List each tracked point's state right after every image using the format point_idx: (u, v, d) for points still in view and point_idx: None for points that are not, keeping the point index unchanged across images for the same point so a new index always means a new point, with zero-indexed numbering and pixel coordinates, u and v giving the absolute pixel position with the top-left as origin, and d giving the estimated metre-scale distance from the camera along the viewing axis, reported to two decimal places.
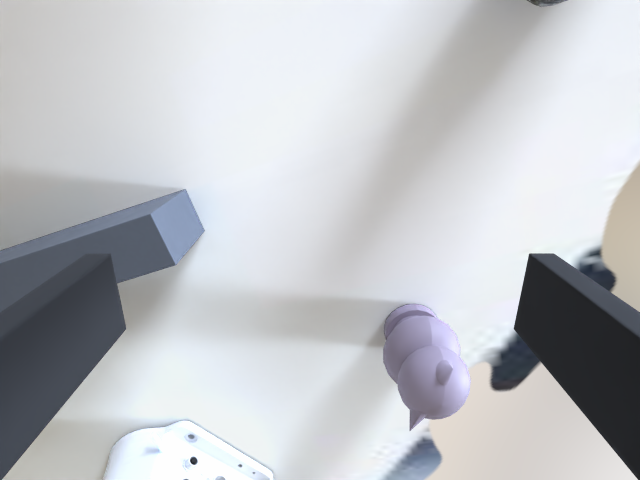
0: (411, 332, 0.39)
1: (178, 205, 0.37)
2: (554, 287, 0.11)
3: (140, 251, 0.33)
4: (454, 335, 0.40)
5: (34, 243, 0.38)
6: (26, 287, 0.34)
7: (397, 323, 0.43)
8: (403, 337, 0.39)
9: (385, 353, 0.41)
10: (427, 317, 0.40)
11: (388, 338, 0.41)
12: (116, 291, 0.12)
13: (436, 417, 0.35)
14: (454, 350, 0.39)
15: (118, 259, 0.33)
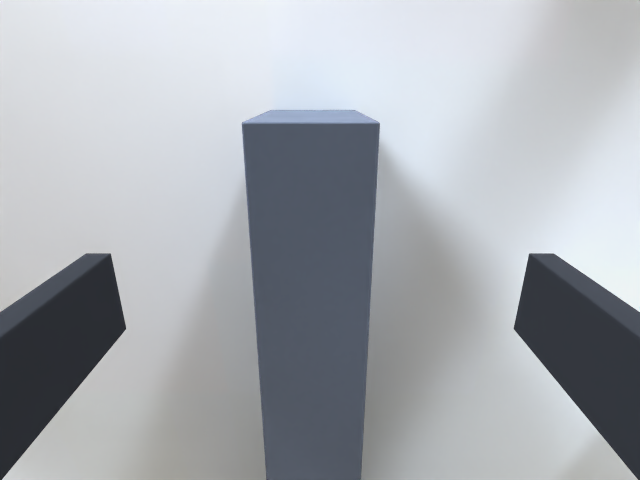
0: None
1: (281, 113, 0.19)
2: (554, 287, 0.11)
3: (321, 187, 0.14)
4: None
5: None
6: (318, 417, 0.18)
7: None
8: None
9: None
10: None
11: None
12: (117, 292, 0.12)
13: None
14: None
15: (321, 241, 0.15)
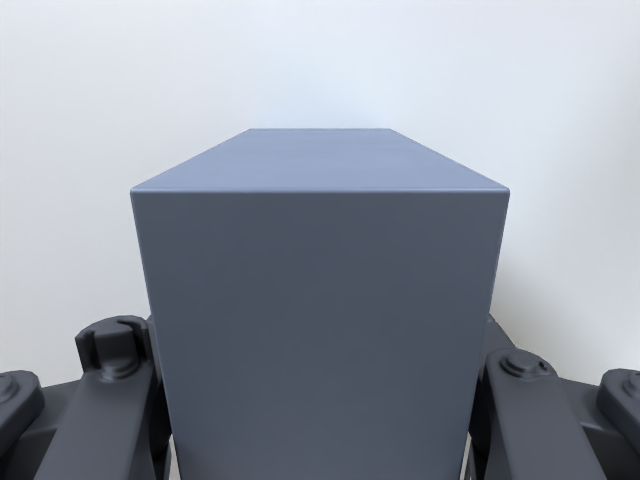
0: None
1: (263, 139, 0.10)
2: None
3: (344, 345, 0.06)
4: None
5: None
6: None
7: None
8: None
9: None
10: None
11: None
12: None
13: None
14: None
15: (343, 453, 0.06)
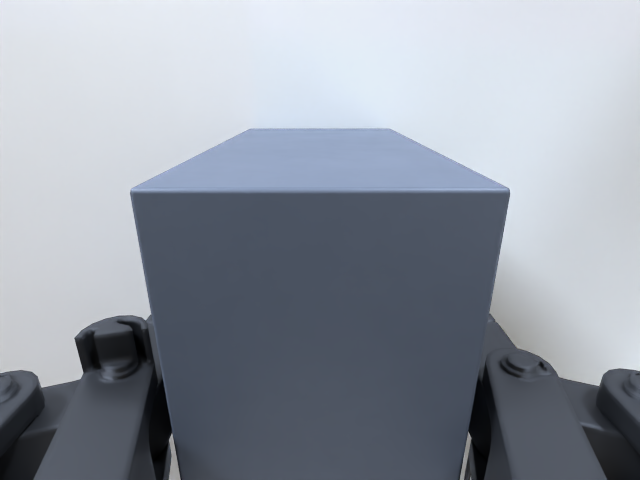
0: None
1: (263, 139, 0.10)
2: None
3: (344, 346, 0.06)
4: None
5: None
6: None
7: None
8: None
9: None
10: None
11: None
12: None
13: None
14: None
15: (343, 453, 0.06)
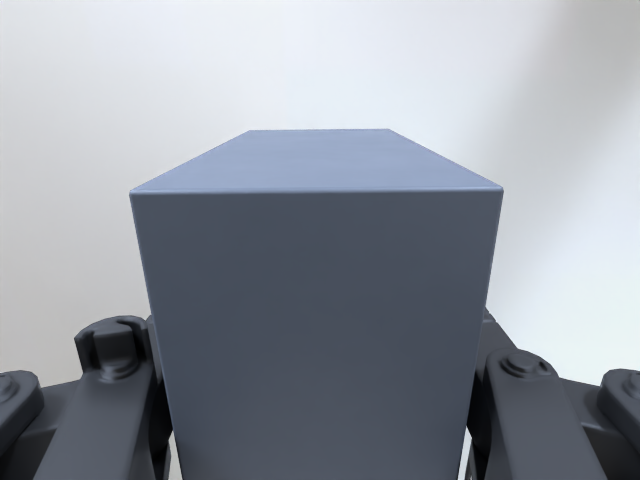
0: None
1: (262, 140, 0.10)
2: None
3: (343, 343, 0.06)
4: None
5: None
6: None
7: None
8: None
9: None
10: None
11: None
12: None
13: None
14: None
15: (342, 450, 0.06)
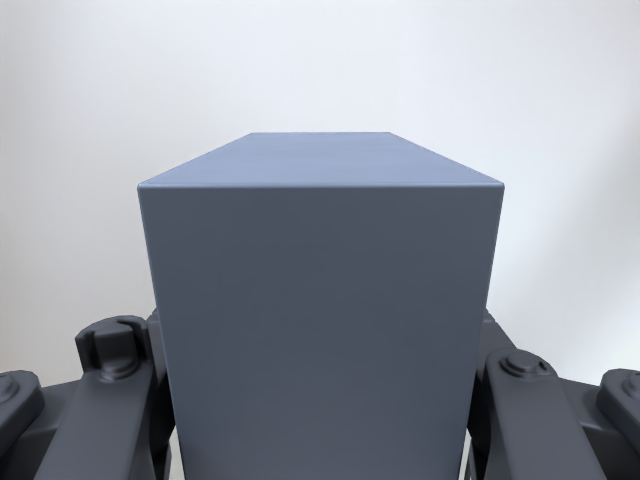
0: None
1: (265, 141, 0.10)
2: None
3: (345, 338, 0.06)
4: None
5: None
6: None
7: None
8: None
9: None
10: None
11: None
12: None
13: None
14: None
15: (345, 447, 0.06)
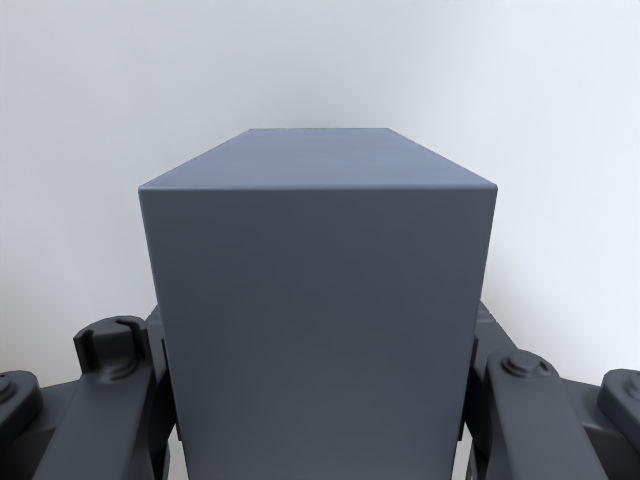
0: None
1: (263, 139, 0.10)
2: None
3: (342, 335, 0.06)
4: None
5: None
6: None
7: None
8: None
9: None
10: None
11: None
12: None
13: None
14: None
15: (342, 439, 0.07)
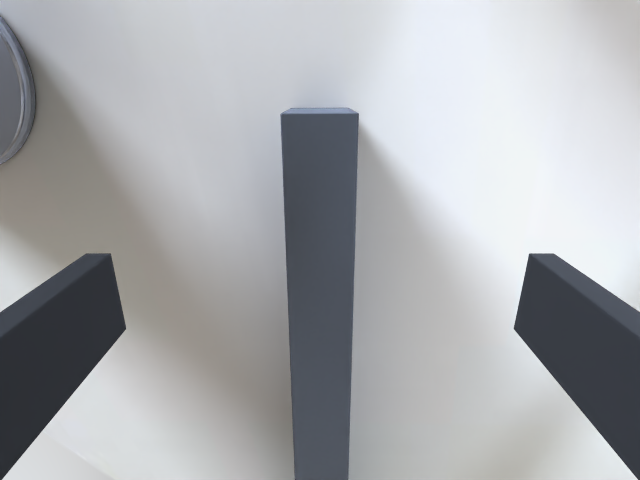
0: None
1: (300, 109, 0.29)
2: (554, 287, 0.11)
3: (325, 151, 0.25)
4: None
5: None
6: (324, 303, 0.29)
7: None
8: None
9: None
10: None
11: None
12: (116, 292, 0.12)
13: None
14: None
15: (325, 184, 0.25)
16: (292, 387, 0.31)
